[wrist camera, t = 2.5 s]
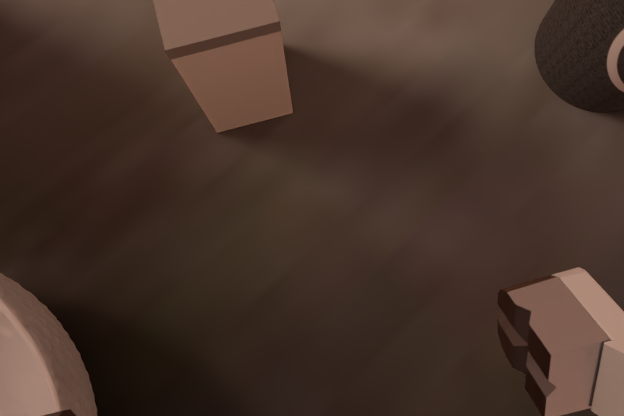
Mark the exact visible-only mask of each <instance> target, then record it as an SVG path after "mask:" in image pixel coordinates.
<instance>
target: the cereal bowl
mask: <svg viewBox="0 0 624 416" xmlns="http://www.w3.org/2000/svg"><path fill="white" fill-rule="evenodd" d="M68 409H71V410H72V412H73V413H74V414H75V415H76V416H97V408H96V404H95V399H94V393H93V391H92V385H91V383H90V380H89V374H88V372H87V371H86V369H85V366H84V363H83V361H82V360H81V356H80V353H79V352H78V351H77V349H76V347H75V344H74V343H73V342H72V340H71V339H70V337H69V334H68V333H67V332H66V331H65V330H64V329H63V327H62V325H61V323H60V322H59V321H58V320H57V319H56V317H55V316H54V315H53V314H52V313H51V312H50V311H49V310H48V308H47V306H45V305H44V304H42V303H41V302H40V301H38V299H37V298H36V296H34V295H33V294H32V293H30V292H29V291H27V290H25V289H24V288H22V287H21V286H20V284H19V283H17V282H15V281H13V280H12V279H10V278H7V277H5V276H4V275H3V274H2V273H0V416H43V415H47V414H51V413H55V412H59V411H63V410H68Z"/></svg>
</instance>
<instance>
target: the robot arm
mask: <svg viewBox="0 0 624 416" xmlns="http://www.w3.org/2000/svg"><path fill="white" fill-rule="evenodd" d="M498 305H499V307H500V308H501V310H502V311H503V313H502V315H501V316H500V317H499V319H498V320H497V322H498V334H499V338H500V342H501V346H502V348H503V350H504V352H505V355H506V357H507V358H508V360H509V362H510V364H511V365H512V367H513V368H514V369H516V370H518V371H520V372H521V373H523V374H525V375H526V380H525V389H526V390H527V392H528V394H529V395H530V397H531V398H532V400H533V402H534V403H535V405H536V407H537V408H538V410H539V412H540V413H541V415H542V416H561V415H565V414H569V413H572V412H576V411H580V410H584V409H588V408H591V411H592V412H594V413H595V414H597V415H598V416H624V311H623V310H622V309H621V308H620V307H619V306H618V305H617V304H616V303H615V301H614V300H613V299H612V298H611V297H610V296H609V295H608V294H607V293H606V292H605V291H604V290H603V289H602V288H601V287H600V285H599V284H598V283H597V282H596V281H595V280H594V279H593V278H592V277H591V276H590V275H589V274H588V273H587V272H586V270H584V269H582V268H580V267H578V268H575V269H571V270H567V271H564V272H560V273H556V274H553V275H548V276H544V277H541V278H537V279H534V280H530V281H527V282H523V283H520V284H516V285H513V286H510V287H506V288H503V289H500V291H499V293H498ZM43 416H76V415H75V414H74V413H73V412H72V410H71V409H68V410H63V411H59V412H55V413H51V414H47V415H43Z"/></svg>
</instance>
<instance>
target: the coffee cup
mask: <svg viewBox="0 0 624 416" xmlns="http://www.w3.org/2000/svg"><path fill="white" fill-rule="evenodd" d="M535 58H536V63H537V66H538V69H539V71H540V73H541V75H542V77H543V79H544V81H545V82H546V83H547V85H548V86H549V87H550V88H551V89H552V91H553V92H555V93H556V94H557V95H558V96H559V97H560V98H562V99H563V100H565V101H566V102H568V103H570V104H572V105H574V106H576V107H579V108H581V109H585V110H589V111H595V112H612V111H618V110H622V109H624V0H555V1H554V3H553V5H552V6H551V8H550V9H549V11H548V13H547V14H546V16H545V17H544V19H543V21H542V22H541V24H540V26H539V29H538V31H537V35H536V39H535Z"/></svg>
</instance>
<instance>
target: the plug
mask: <svg viewBox="0 0 624 416" xmlns="http://www.w3.org/2000/svg"><path fill="white" fill-rule="evenodd" d="M153 2H154V7H155V11H156V15H157V19H158V24H159V28H160V32H161V36H162V41H163V45H164V49H165V52H166V53H167V55H168V56H169V58H170V59H171V61H172V63H173V64H174V66H175V67H176V69H177V70H178V72H179V74H180V75H181V77H182V78H183V80H184V81H185V83H186V85H187V86H188V88H189V89H190V91H191V92H192V94H193V96H194V97H195V99H196V100H197V102H198V103H199V105H200V107H201V108H202V110H203V111H204V113H205V114H206V116H207V118H208V119H209V121H210V122H211V124H212V125H213V127H214V129H215V130H216V132H217V133H219V132H222V131H226V130H230V129H234V128H238V127H242V126H245V125H249V124H253V123H257V122H261V121H264V120H268V119H272V118H276V117H280V116H284V115H287V114H291V113H293V109H292V102H291V95H290V88H289V82H288V75H287V68H286V61H285V55H284V48H283V41H282V34H281V27H280V21H279V17H278V14H277V10H276V6H275V3H274V0H153Z"/></svg>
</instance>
